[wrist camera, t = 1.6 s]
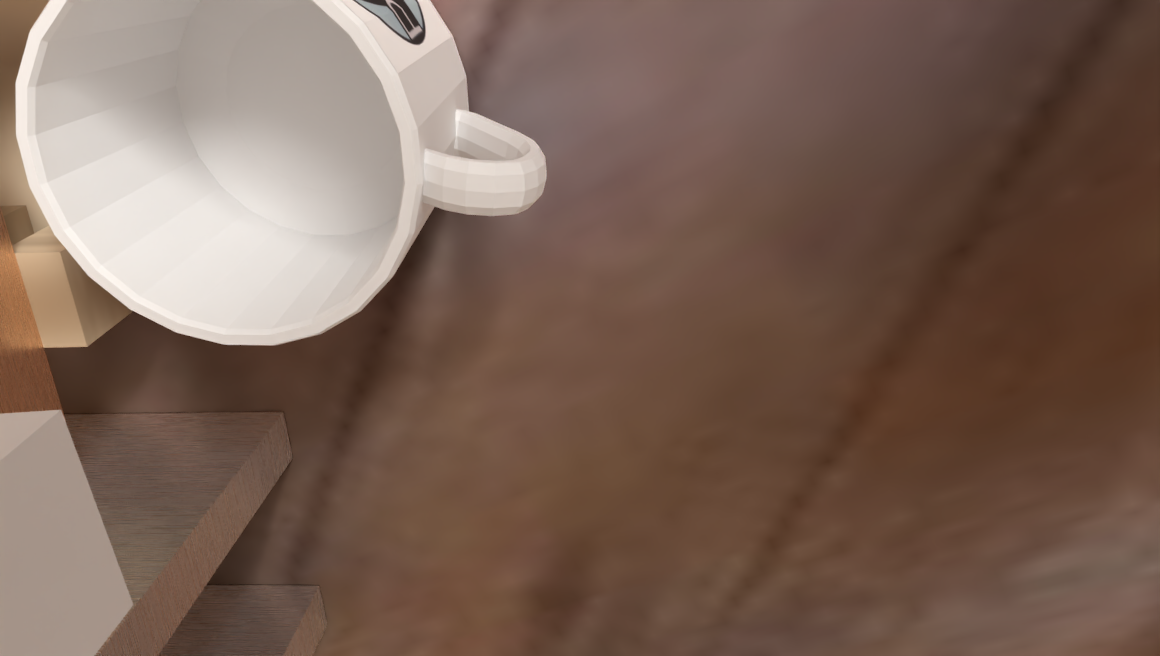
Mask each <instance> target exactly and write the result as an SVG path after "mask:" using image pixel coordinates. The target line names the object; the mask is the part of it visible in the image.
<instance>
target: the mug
mask: <svg viewBox="0 0 1160 656" xmlns="http://www.w3.org/2000/svg"><path fill="white" fill-rule="evenodd" d="M16 137H17V141H18V145H19V149H20V153H21V156H22V160H23V164H24V168H25V172H26V176H27V180H28V183H29V187H30V189H31V191H32V193H33V195H34V197H35V199H36V200H37V202H38V204H39V206H40V208H41V210H42V212H43V214H44V216H45V218H46V220H47V222H48V224H49V225H50V227H51V229H52V231H53V233H54V235H55V236H56V237H57V239H58V240H59V241H60V242H61V243H62V245H63V246H64V247H65V248H66V249H67V251H68V252H69V253H70V254H71V255H72V257H73V258H74V259H75V260H76V262H77V263H78V264H79V265H80V266H81V268H82V269H83V270H84V271H85V272H86V274H87V275H88V276H89V277H90V278H92V279H93V280H94V281H95V282H97V283H98V284H99V285H100V286H102V287H103V288H104V289H105V290H107V291H108V292H109V293H110V294H112V295H113V296H114V297H115V298H117V299H118V300H119V301H120V302H122V303H123V304H124V305H125V306H127V307H128V308H129V309H130V310H132V311H134V312H136V313H138V314H140V315H142V316H144V317H146V318H148V319H150V320H152V321H154V322H156V323H158V324H160V325H162V326H164V327H166V328H168V329H170V330H172V331H174V332H176V333H180V334H184V335H188V336H192V337H196V338H200V339H204V340H208V341H212V342H216V343H220V344H224V345H280V344H284V343H288V342H292V341H296V340H300V339H304V338H308V337H312V336H316V335H320V334H322V333H324V332H326V331H327V330H329V329H331V328H333V327H334V326H336V325H338V324H339V323H341V322H343V321H345V320H346V319H348V318H350V317H352V316H353V315H355V314H357V313H358V312H360V311H362V309H363V308H364V307H365V306H366V305H367V304H368V303H369V302H370V301H371V300H372V299H373V298H374V297H375V296H376V294H377V293H378V292H379V291H380V290H381V289H382V288H383V287H384V286H385V285H386V284H387V283H388V282H389V281H390V280H391V278H392V277H393V276H394V274H395V273H396V271H397V269H398V268H399V266H400V264H401V262H402V261H403V259H404V257H405V256H406V254H407V252H408V251H409V249H410V247H411V246H412V244H413V242H414V241H415V239H416V237H417V236H418V234H419V232H420V231H421V229H422V227H423V226H424V224H425V222H426V221H427V219H428V217H429V215H430V214H431V212H432V210H433V209H434V207H438V208H440V209H443V210H447V211H452V212H457V213H462V214H469V215H484V216H500V215H513V214H518V213H520V212H522V211H525V210H527V209H528V208H529V207H530V206H531V205H532V204H534V203H535V202H536V201H537V199H538V198H539V197H540V196H541V195H542V194H543V190H544V187H545V183H546V179H547V171H546V159H545V156H544V154H543V152H542V151H541V149H540V147H539V146H538V145H537V143H536V142H535V141H534V140H532V139H530V138H529V137H527V136H525V135H523V134H522V133H519V132H517V131H515V130H513V129H510V128H508V127H506V126H504V125H501V124H499V123H497V122H495V121H492V120H490V119H488V118H485V117H483V116H481V115H479V114H476V113H473V112H469V105H468V92H467V79H466V74H465V71H464V68H463V65H462V62H461V59H460V56H459V53H458V50H457V47H456V44H455V41H454V38H453V35H452V34H451V32H450V31H449V29H448V28H447V26H446V24H445V23H444V21H443V20H442V18H441V17H440V15H439V13H438V12H437V10H436V9H435V7H434V6H433V4H432V2H431V1H430V0H49V2H48V3H47V5H46V7H45V8H44V10H43V11H42V13H41V14H40V16H39V17H38V19H37V20H36V22H35V23H34V25H33V26H32V28H31V30H30V33H29V36H28V40H27V43H26V47H25V50H24V54H23V58H22V61H21V65H20V68H19V72H18V76H17V79H16Z"/></svg>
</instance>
